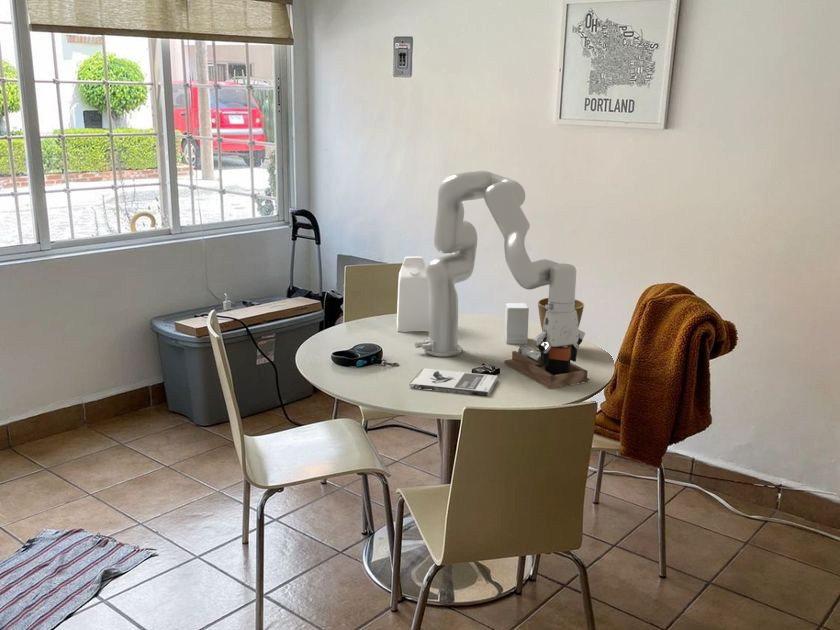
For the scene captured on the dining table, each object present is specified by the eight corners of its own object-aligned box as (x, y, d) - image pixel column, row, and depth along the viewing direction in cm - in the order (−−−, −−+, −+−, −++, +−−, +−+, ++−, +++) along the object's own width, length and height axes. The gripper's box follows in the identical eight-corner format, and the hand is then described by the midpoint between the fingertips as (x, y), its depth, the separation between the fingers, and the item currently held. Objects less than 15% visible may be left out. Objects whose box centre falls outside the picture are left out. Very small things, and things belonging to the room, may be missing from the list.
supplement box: (527, 344, 266) (529, 308, 263) (505, 343, 266) (507, 308, 263) (525, 337, 273) (526, 302, 270) (504, 337, 273) (505, 302, 270)
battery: (547, 371, 236) (548, 340, 233) (569, 374, 233) (571, 342, 231) (544, 376, 232) (545, 344, 229) (567, 379, 229) (568, 346, 227)
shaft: (535, 367, 239) (535, 354, 238) (517, 357, 248) (518, 345, 247) (546, 365, 241) (546, 353, 240) (528, 356, 250) (529, 344, 249)
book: (497, 381, 232) (497, 375, 231) (487, 398, 219) (487, 391, 218) (423, 374, 238) (423, 368, 237) (409, 389, 225) (409, 383, 225)
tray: (549, 388, 225) (549, 377, 224) (504, 363, 246) (504, 352, 245) (589, 381, 230) (589, 370, 229) (541, 357, 252) (542, 347, 251)
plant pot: (528, 345, 265) (529, 299, 260) (566, 340, 270) (568, 295, 266) (550, 358, 251) (552, 310, 247) (590, 353, 256) (593, 306, 252)
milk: (428, 322, 291) (429, 253, 285) (431, 331, 280) (431, 260, 273) (396, 323, 291) (396, 254, 284) (397, 331, 280) (397, 260, 273)
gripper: (543, 312, 220) (540, 370, 224) (593, 306, 227) (590, 362, 232) (528, 306, 226) (526, 362, 231) (578, 300, 234) (574, 355, 238)
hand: (558, 362), depth 231 cm, fingers open, 9 cm apart
